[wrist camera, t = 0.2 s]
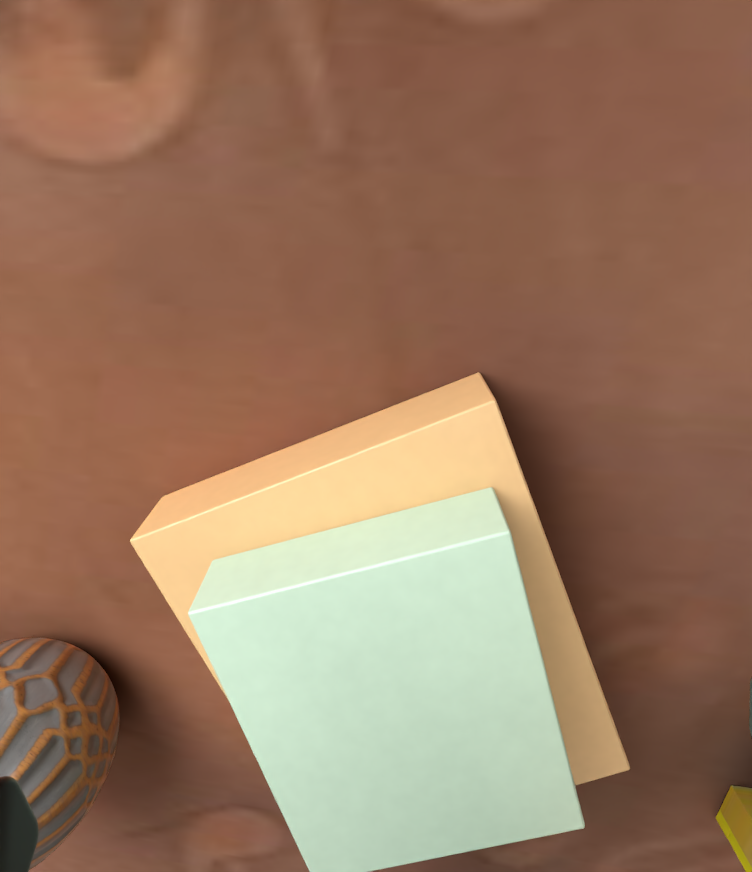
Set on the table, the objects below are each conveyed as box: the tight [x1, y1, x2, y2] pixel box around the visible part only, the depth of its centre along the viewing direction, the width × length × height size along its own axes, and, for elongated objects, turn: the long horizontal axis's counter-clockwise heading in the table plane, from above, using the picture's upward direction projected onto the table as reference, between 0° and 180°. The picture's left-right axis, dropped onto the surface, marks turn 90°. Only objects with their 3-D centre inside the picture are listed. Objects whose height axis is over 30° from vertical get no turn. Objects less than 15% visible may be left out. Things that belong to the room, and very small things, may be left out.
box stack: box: [130, 373, 630, 872], centre depth 21 cm, size 15×12×6 cm
